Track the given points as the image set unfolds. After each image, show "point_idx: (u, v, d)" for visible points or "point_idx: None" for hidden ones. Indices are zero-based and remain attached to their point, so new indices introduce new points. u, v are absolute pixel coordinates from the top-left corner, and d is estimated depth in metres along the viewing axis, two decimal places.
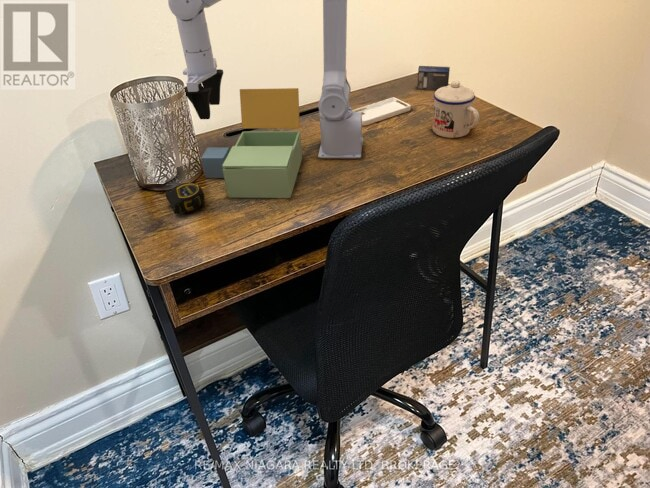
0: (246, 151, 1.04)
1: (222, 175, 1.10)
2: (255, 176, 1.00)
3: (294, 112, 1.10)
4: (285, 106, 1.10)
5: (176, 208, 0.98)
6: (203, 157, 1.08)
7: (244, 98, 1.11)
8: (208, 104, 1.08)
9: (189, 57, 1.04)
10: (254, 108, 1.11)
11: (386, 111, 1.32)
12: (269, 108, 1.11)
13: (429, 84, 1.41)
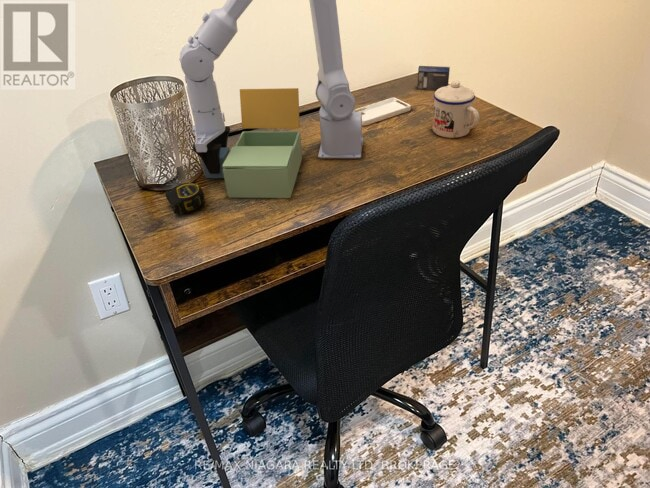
0: (246, 151, 1.04)
1: (222, 175, 1.10)
2: (255, 176, 1.00)
3: (294, 112, 1.10)
4: (285, 106, 1.10)
5: (176, 208, 0.98)
6: None
7: (244, 98, 1.11)
8: (218, 160, 1.07)
9: (197, 117, 1.02)
10: (254, 108, 1.11)
11: (386, 111, 1.32)
12: (269, 108, 1.11)
13: (429, 84, 1.41)
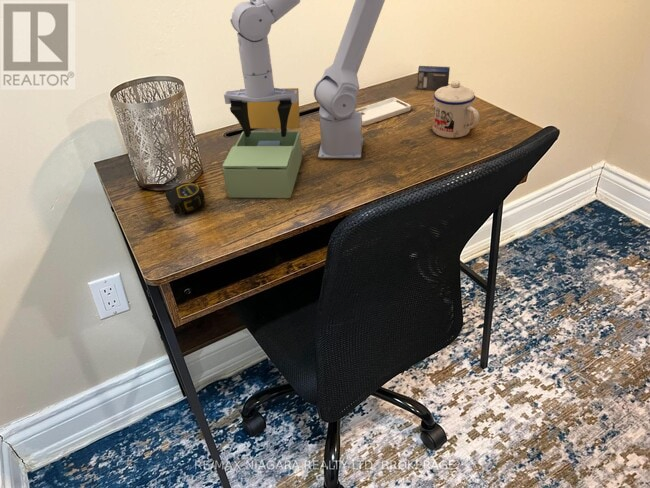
0: (246, 151, 1.04)
1: None
2: (255, 176, 1.00)
3: (294, 112, 1.10)
4: None
5: (176, 208, 0.98)
6: (260, 141, 1.12)
7: None
8: (241, 123, 1.05)
9: None
10: (254, 108, 1.11)
11: (386, 111, 1.32)
12: (269, 108, 1.11)
13: (429, 84, 1.41)
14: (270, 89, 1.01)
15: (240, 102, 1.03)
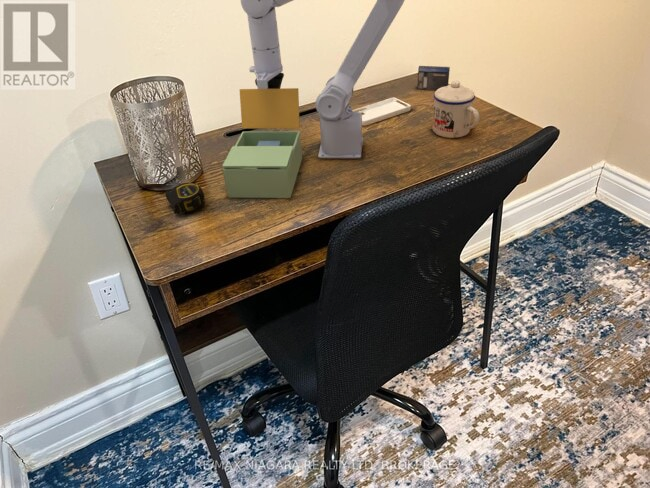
0: (246, 151, 1.04)
1: None
2: (255, 176, 1.00)
3: (294, 112, 1.10)
4: (285, 106, 1.10)
5: (176, 208, 0.98)
6: (260, 141, 1.12)
7: (244, 98, 1.11)
8: None
9: (258, 55, 1.05)
10: (254, 108, 1.11)
11: (386, 111, 1.32)
12: (269, 108, 1.11)
13: (429, 84, 1.41)
14: None
15: None
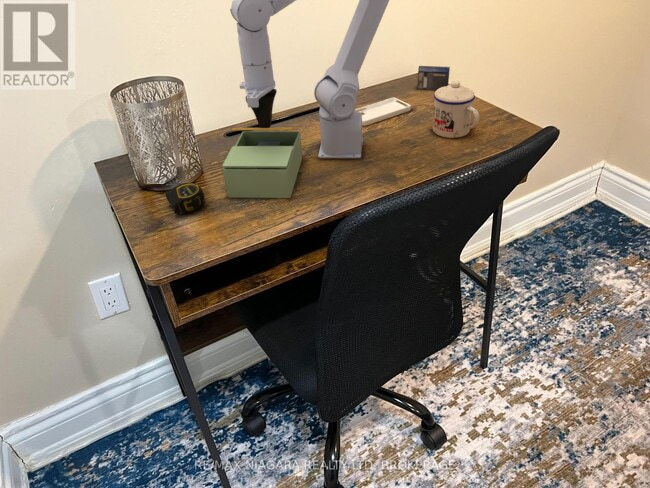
0: (246, 151, 1.04)
1: None
2: (255, 176, 1.00)
3: None
4: None
5: (176, 208, 0.98)
6: (260, 141, 1.12)
7: None
8: (270, 112, 1.05)
9: (249, 71, 0.98)
10: None
11: (386, 111, 1.32)
12: None
13: (429, 84, 1.41)
14: None
15: None
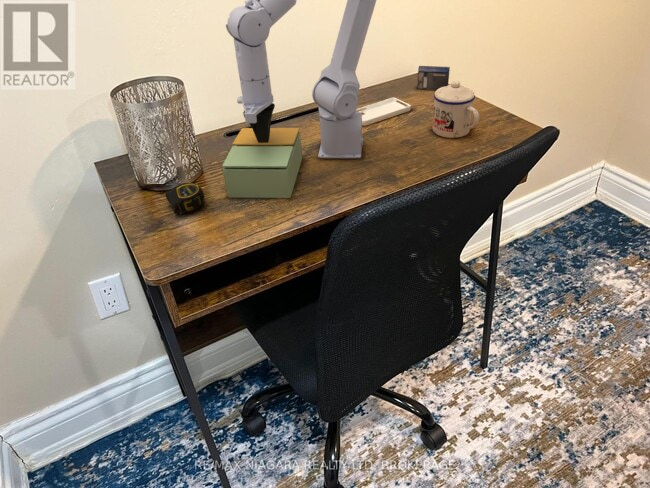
0: (246, 151, 1.04)
1: None
2: (255, 176, 1.00)
3: None
4: None
5: (176, 208, 0.98)
6: None
7: None
8: (268, 127, 1.03)
9: (246, 86, 0.97)
10: None
11: (386, 111, 1.32)
12: None
13: (429, 84, 1.41)
14: None
15: None
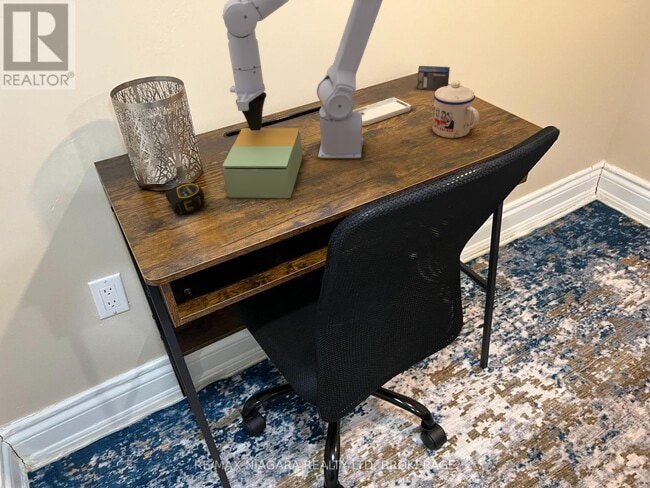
0: (246, 151, 1.04)
1: None
2: (255, 176, 1.00)
3: None
4: None
5: (176, 208, 0.98)
6: None
7: None
8: (260, 115, 1.07)
9: (238, 75, 1.01)
10: None
11: (386, 111, 1.32)
12: None
13: (429, 84, 1.41)
14: None
15: None
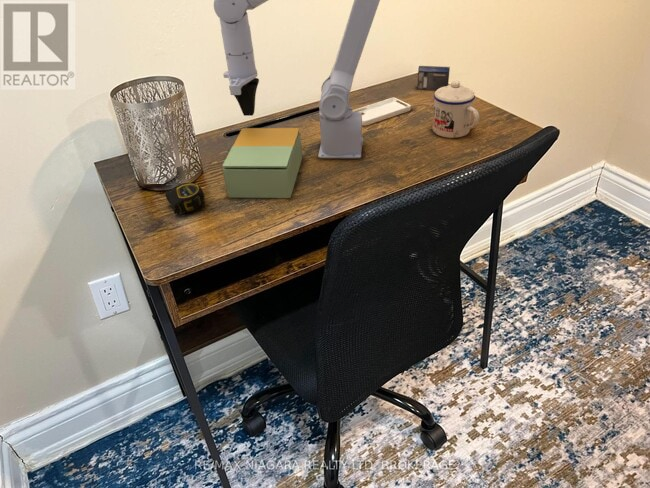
0: (246, 151, 1.04)
1: None
2: (255, 176, 1.00)
3: None
4: None
5: (176, 208, 0.98)
6: None
7: None
8: (253, 100, 1.10)
9: (231, 60, 1.04)
10: None
11: (386, 111, 1.32)
12: None
13: (429, 84, 1.41)
14: None
15: None
